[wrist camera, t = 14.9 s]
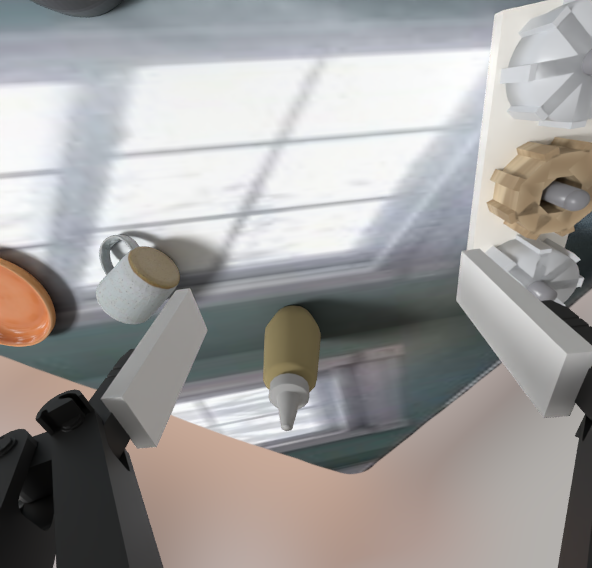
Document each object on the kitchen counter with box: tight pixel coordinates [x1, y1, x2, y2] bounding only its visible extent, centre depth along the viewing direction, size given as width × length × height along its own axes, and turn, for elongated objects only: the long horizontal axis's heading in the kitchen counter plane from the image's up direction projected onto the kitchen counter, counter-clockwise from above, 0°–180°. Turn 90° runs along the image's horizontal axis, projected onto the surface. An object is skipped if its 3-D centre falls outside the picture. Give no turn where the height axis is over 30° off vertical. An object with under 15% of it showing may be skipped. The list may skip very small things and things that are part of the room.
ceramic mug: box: [96, 235, 180, 324], centre depth 40 cm, size 11×8×8 cm
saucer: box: [0, 258, 56, 346], centre depth 45 cm, size 16×16×3 cm
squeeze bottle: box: [263, 305, 321, 431], centre depth 39 cm, size 8×8×18 cm
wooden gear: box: [486, 137, 592, 240], centre depth 32 cm, size 9×9×4 cm
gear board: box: [467, 0, 592, 306], centre depth 32 cm, size 32×11×9 cm, turn 10°
